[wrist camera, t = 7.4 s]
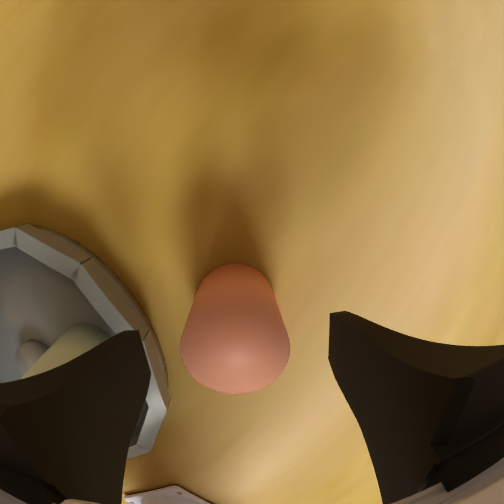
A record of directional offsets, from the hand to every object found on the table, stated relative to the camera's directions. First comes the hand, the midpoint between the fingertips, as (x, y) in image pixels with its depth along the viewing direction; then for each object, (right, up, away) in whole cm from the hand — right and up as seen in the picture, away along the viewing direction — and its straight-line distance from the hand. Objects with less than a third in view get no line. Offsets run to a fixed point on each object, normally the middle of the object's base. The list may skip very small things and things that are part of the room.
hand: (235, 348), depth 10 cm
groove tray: (-13, -3, +5) cm, 14 cm away
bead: (0, +1, +5) cm, 5 cm away
